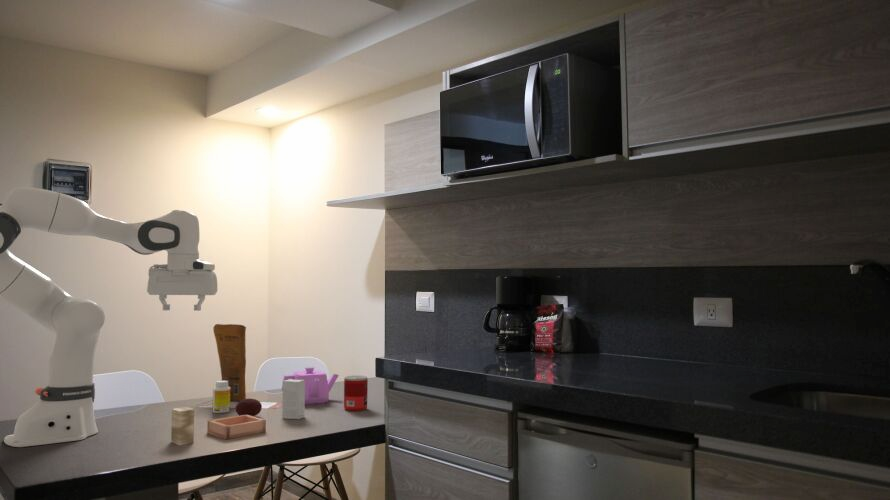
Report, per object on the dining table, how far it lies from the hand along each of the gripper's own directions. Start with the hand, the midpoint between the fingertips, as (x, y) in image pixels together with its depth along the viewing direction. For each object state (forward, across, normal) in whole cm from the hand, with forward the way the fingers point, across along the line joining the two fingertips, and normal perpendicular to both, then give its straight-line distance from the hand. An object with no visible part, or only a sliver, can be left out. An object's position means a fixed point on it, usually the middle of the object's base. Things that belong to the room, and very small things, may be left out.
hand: (181, 310), depth 194 cm
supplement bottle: (+35, +4, +26) cm, 44 cm away
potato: (+35, +15, +17) cm, 42 cm away
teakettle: (+35, +29, +47) cm, 65 cm away
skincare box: (+35, +30, +17) cm, 49 cm away
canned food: (+35, +48, +32) cm, 67 cm away
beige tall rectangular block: (+35, +8, -15) cm, 39 cm away
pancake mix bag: (+35, -2, +49) cm, 61 cm away
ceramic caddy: (+35, +19, -4) cm, 40 cm away
